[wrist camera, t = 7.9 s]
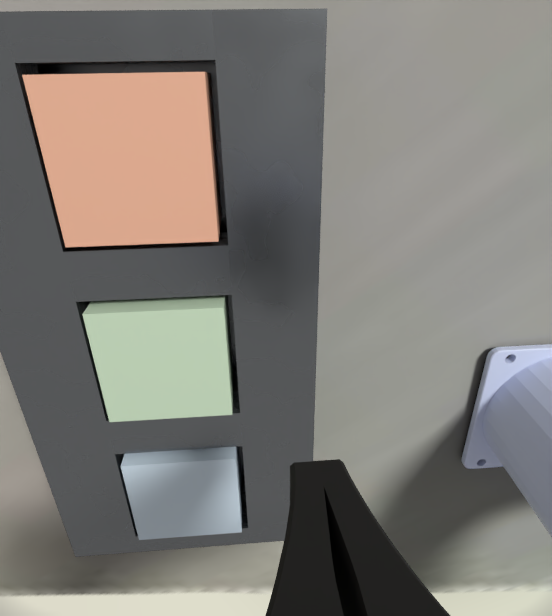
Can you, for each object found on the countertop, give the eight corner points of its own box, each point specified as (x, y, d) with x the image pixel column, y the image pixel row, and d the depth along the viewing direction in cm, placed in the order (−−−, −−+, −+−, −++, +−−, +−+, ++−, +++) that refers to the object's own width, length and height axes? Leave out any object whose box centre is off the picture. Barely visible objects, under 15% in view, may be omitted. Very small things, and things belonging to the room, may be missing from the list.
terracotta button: (211, 73, 15) (204, 71, 12) (221, 216, 17) (218, 241, 15) (61, 76, 15) (22, 74, 12) (92, 221, 17) (65, 247, 14)
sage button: (226, 275, 18) (223, 307, 16) (233, 372, 21) (232, 414, 18) (105, 280, 18) (82, 314, 15) (126, 377, 20) (109, 422, 18)
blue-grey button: (236, 412, 22) (236, 458, 19) (241, 482, 24) (241, 532, 22) (135, 418, 22) (120, 466, 19) (150, 489, 24) (139, 540, 21)
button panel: (311, 21, 15) (327, 8, 12) (303, 490, 25) (310, 538, 23) (-55, 26, 14) (-124, 12, 12) (93, 505, 25) (75, 556, 22)
